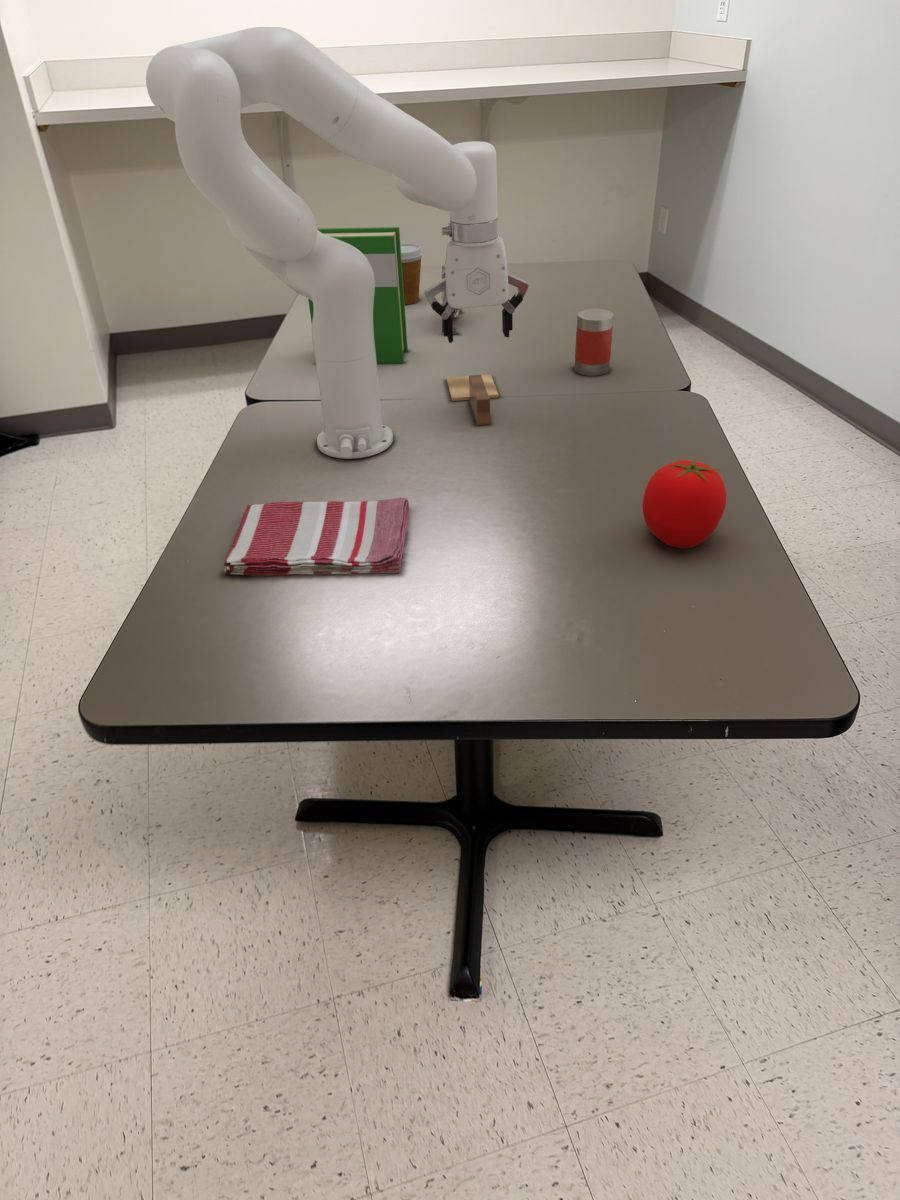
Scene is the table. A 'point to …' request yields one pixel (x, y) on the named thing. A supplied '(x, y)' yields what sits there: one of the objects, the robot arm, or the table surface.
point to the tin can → (593, 342)
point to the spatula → (474, 394)
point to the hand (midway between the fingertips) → (478, 337)
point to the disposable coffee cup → (411, 271)
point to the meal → (444, 299)
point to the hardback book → (381, 286)
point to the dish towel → (320, 538)
